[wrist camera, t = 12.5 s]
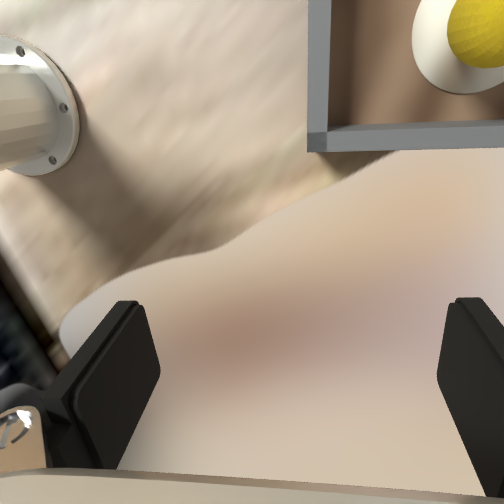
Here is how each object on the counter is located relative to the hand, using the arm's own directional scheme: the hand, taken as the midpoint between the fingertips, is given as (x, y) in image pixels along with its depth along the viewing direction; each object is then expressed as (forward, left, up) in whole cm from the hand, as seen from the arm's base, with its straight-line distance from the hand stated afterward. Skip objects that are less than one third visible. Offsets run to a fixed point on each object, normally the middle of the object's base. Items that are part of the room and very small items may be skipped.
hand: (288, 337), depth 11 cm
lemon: (+12, +10, -24) cm, 28 cm away
